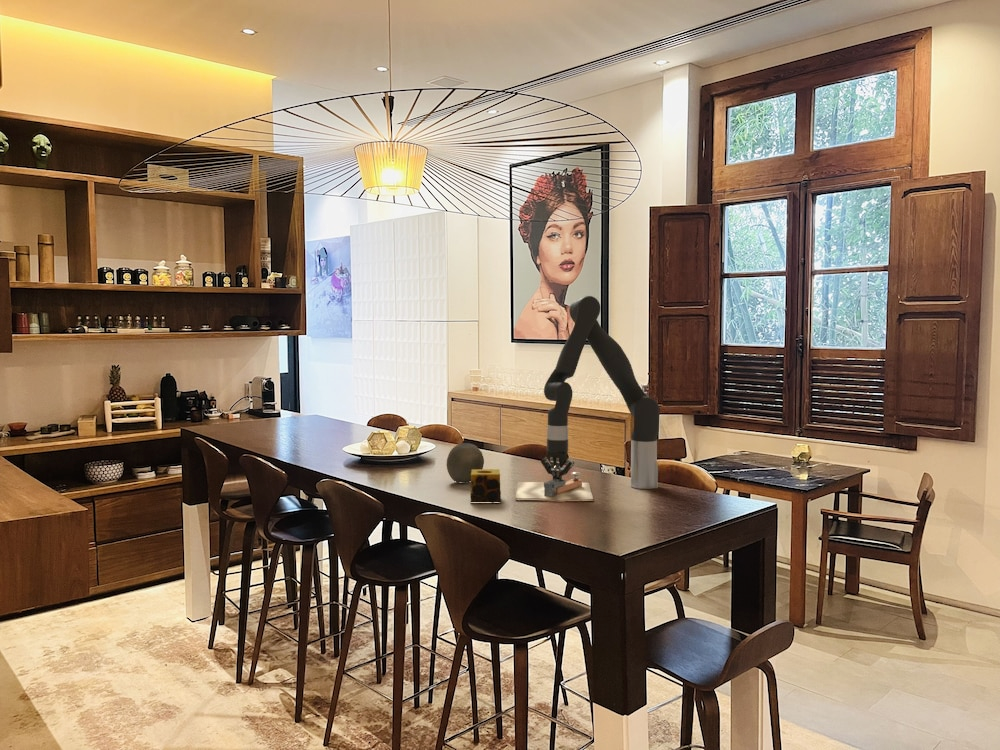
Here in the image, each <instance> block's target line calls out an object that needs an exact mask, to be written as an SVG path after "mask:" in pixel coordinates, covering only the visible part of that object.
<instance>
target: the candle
mask: <svg viewBox="0 0 1000 750" xmlns="http://www.w3.org/2000/svg"><path fill="white" fill-rule="evenodd" d="M501 493H502V490H501V474H500V469H498V468H494V469H492V468H489V469H487V468H485V469H484V468H483V469H475V470H471V482H470V497H469V498H470V502H502V497H501V495H502V494H501Z"/></svg>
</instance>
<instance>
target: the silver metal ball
mask: <svg viewBox="0 0 1000 750" xmlns="http://www.w3.org/2000/svg"><path fill="white" fill-rule="evenodd" d="M570 475H572V479H573V480H579V479H580V478H579V477H580V475H582V474H581V472H579V471H572V472H570Z"/></svg>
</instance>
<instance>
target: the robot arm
mask: <svg viewBox="0 0 1000 750" xmlns="http://www.w3.org/2000/svg"><path fill="white" fill-rule="evenodd" d="M568 312H569V316H570V318H571V320H572V321H573V323H574V326H573V328H572V331H571V333H570V334H569V336H568V338H567V340H566V341H565V343H564V345H563V347H562V349H561V351H560V354H559V357H558V359H557V363H556V366H555V367H554V369H553V371H551V374H550V375H549V377H548V378H547V380H546V382H545V385H544V388H543V395H544V397H545V398H546V400H549V401H552V402H555V405H554V407H552V408H550V409H548V411H547V430H546V454H545V456H544V458H542V459H541V458H540V463H541V464H542V467H544V469H545V470H546V472H547V474H549V475H551V477H552V480H554V479H560V480H563V478H562V477H563V476H566V475H567V474H568V473H569V471H570V470H571V469H572V468H573V467H574V465H575V461H571V458H570V456H569V454H568V452H569V427H568V425H569V424H568V421H569V420H568V418H569V417H568V416H569V411H570V407H571V405H572V399H573V388H572V386H571V384H570V383H569V382H565V381H566V380H568V379H570V378H573V377H574V375H575V373H576V370H577V367H578V364H579V361H580V358H581V355H582V352H583V349H584V346H585V344H586V342H588V344H589V345H590V347H591V349H592V351H593V353H595V356H596V358H597V360H598V361H599V362H600V364H601V366H602V368H603V370H604V371H605V372H606V374H607V375H608V377H609V378H610V380H611V382H612V383H613V384H614V386H616V388H617V390H619V392H620V394H621V396H622V398H623V400H624V402H625V404H626V406H627V408H628V411H629V413H630V415H631V416H632V418H633V429H632V432H631V434H630V446H631V448H630V487H632V488H634V489H640V490H641V489H642V490H648V489H649V490H650V489H651V490H652V489H658V487H659V485H658V482H659V481H658V480H659V479H658V477H659V474H658V472H659V465H658V464H659V462H658V461H657V460H658V459H657V455H658V447H657V446H658V434H659V430H660V429H659V428H660V406H659V404H658V402H657V400H655V399H654V398H652V397H650V396H648V395H647V394H646V392H645V391H644V390H643V389H642V387H641V386H640V385H639V382H638V381H637V379H636V376H635V373H634V369H633V366H632V364H631V362H630V360H629V358H628V357H627V354H626V353H625V351H624V350H623V348H622V347H621V345H620V344H619V343H618V342H617V341H616V340H615V339H614V338H612V336H610V335H609V334H608V333H607V332H606V331H605V330H604V329H603V328H602V326H601V325H600V323H599V321H598V320H597V319H599V318H598V317H599V316H600V313H601V304H600V302H599V300H598V298H596V297H595V296H592V295H585V296H582V297H580V298H577V299H576V300H574V301H573V302H571V304H570V306H569V309H568ZM564 466H565V467H564Z"/></svg>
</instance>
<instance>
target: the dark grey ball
mask: <svg viewBox="0 0 1000 750" xmlns="http://www.w3.org/2000/svg"><path fill="white" fill-rule="evenodd" d="M484 463H485V459H484V455H483V452H482V451H481V449H480V448H479V447H478V446H477V445H476V444H473V443H468V442H467V443H466V442H465V443H464V442H463V443H459V444H457V445H455V446H454V447H453V448H451V449H450V450H449V453H448V455H447V459H446V470H447V473H448V475H449V477H450V478H451V480H452V481H454V482H455V481H456V483H457V482H468V483H470V482H469V481H471V470H475V469H484Z"/></svg>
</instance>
